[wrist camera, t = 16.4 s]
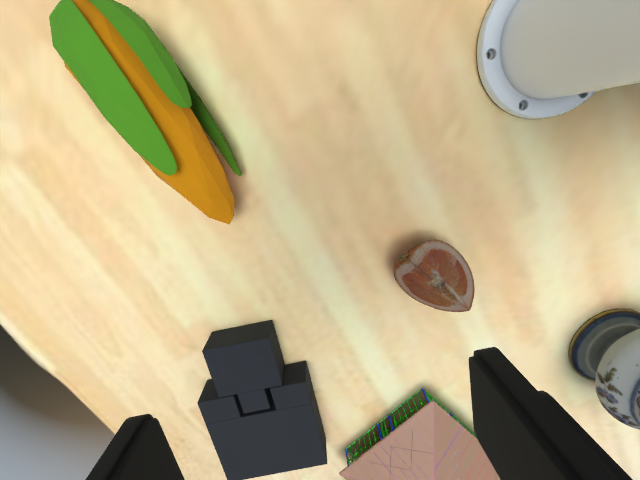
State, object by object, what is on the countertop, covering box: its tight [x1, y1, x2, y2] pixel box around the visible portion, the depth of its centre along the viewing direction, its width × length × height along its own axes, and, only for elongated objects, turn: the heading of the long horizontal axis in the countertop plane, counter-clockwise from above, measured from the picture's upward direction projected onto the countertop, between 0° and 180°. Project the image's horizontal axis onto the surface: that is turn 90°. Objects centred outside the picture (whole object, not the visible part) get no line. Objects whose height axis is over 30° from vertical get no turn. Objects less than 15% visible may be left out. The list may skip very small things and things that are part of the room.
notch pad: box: [198, 361, 327, 480], centre depth 37 cm, size 12×12×4 cm
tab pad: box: [202, 320, 284, 413], centre depth 35 cm, size 7×9×4 cm
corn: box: [49, 0, 241, 224], centre depth 26 cm, size 7×8×20 cm
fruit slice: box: [394, 240, 474, 312], centre depth 32 cm, size 8×7×5 cm
